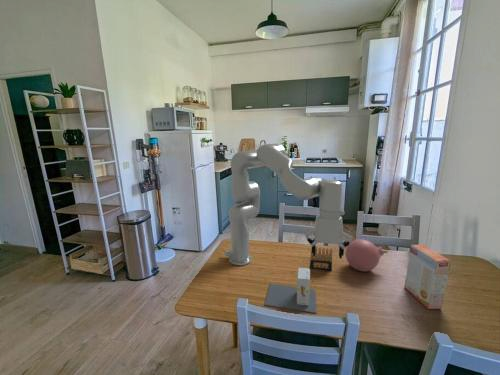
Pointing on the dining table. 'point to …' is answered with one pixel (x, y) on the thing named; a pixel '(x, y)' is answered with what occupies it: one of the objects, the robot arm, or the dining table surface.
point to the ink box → (303, 286)
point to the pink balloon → (363, 255)
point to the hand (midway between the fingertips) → (327, 255)
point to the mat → (289, 298)
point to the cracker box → (427, 276)
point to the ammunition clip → (321, 260)
